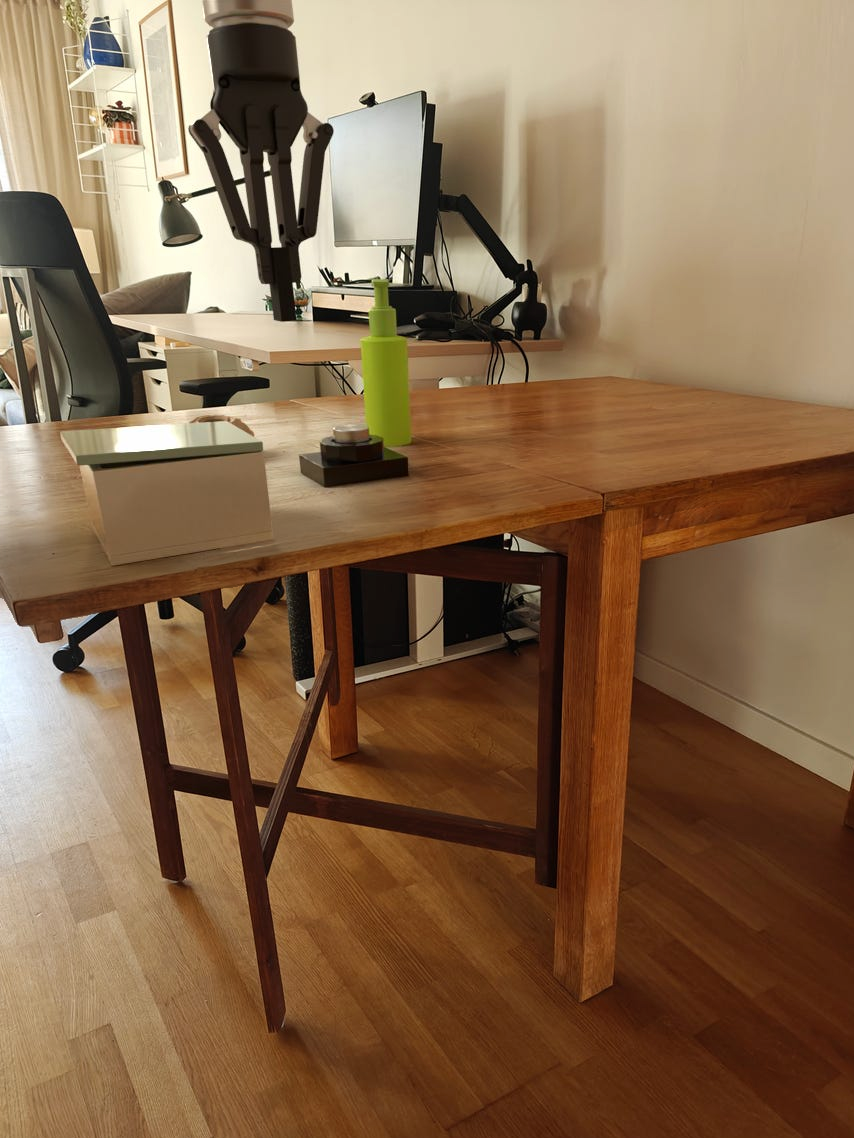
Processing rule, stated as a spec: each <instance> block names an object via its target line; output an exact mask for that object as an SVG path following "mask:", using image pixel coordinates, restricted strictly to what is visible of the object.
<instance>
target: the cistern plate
mask: <svg viewBox="0 0 854 1138" xmlns="http://www.w3.org/2000/svg"><path fill="white" fill-rule="evenodd" d="M369 436H370V441H369V442H366V443H358V444H339V443H334V437H333V435H330V436H327V437H323V438H322V439H321V440H320V441H319V448H320V449H319V450H320V451H316V452H309V453H301V454H300V453H299V454H298V459H299V460H298V461H299V469H300V474H301V475H303V476H305V477H306V478H307V479H310V480H311V481H313V482H315V483H316V484H318V485H319V486H321V487H323V488H324V489H326V488H327V489H328V488H334V487H335V488H336V487H340V486H348V485H355V484H362V483H369V482H376V481H383V480H391V479H398V478H405V477H410V473H409V457H408V456H406V455H403V454H402V453H399V452H397V451H394V450H392V449H390V448H389V447H384V441H383V438H382V437H380V436H377V435H370V434H369Z"/></svg>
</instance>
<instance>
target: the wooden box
mask: <svg viewBox="0 0 854 1138" xmlns="http://www.w3.org/2000/svg"><path fill="white" fill-rule="evenodd" d="M264 452H265V451H264V450H263V451H257V452H245V453H232V454H219V455H207V456H194V457H182V458H169V459H156V460H144V461H131V462H119V463H106V464H94V465H81V466H79V471H80V476H81V481H82V486H83V490H84V491H83V492H84V496H85V501H86V506H87V509H88V514H89V519H90V524H91V525H90V526H91V529H92V531H93V533H94V536H95V537H96V539H97V541H98V543H99V545H100V547H101V548H102V550H103V552H104V554H105V556H106V559H107V560H108V562H109V563H110V566H111V567H114V566H120V565H126V564H132V563H140V562H145V561H151V560H156V559H164V558H168V557H176V556H181V555H188V554H193V553H199V552H204V551H205V552H206V551H211V550H217V549H222V548H228V547H233V546H234V547H235V546H239V545H246V544H253V543H257V542H258V543H259V542H264V541H269V540H271V541H272V540H274V531H273V522H272V514H271V506H270V505H271V504H270V503H271V502H270V496H269V487H268V486H269V485H268V477H267V470H266V468H267V467H266V461H265V453H264Z"/></svg>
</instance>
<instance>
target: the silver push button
mask: <svg viewBox="0 0 854 1138" xmlns="http://www.w3.org/2000/svg"><path fill="white" fill-rule="evenodd" d="M332 436H333V437H334V443H339V444H358V443H366V442H369V441H370V436H369V427H368V426H366V424H358V423H352V424H350V423H349V424H339V425H336V426H334V427H333V428H332Z"/></svg>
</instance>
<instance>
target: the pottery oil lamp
mask: <svg viewBox="0 0 854 1138" xmlns="http://www.w3.org/2000/svg"><path fill="white" fill-rule="evenodd" d="M219 421H228V422H229V423H231V424H233V425H235V426H236V427H238V428H240V429H241V430H243V431H245V432H246V433H248V434H250V435H251V436H253V437H255V432H254V431H253V430H252V429H251V428H250V427H249V426H248V424H246V423H245V422H243V421H242V419H241V418H237V417H234V416H229V415H228V416H227V415H224V414H205V415H204V414H203V415H200V416H197V417H195V418H193V419H192V420H190V421H189V422H188V423H203V422H219Z"/></svg>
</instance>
